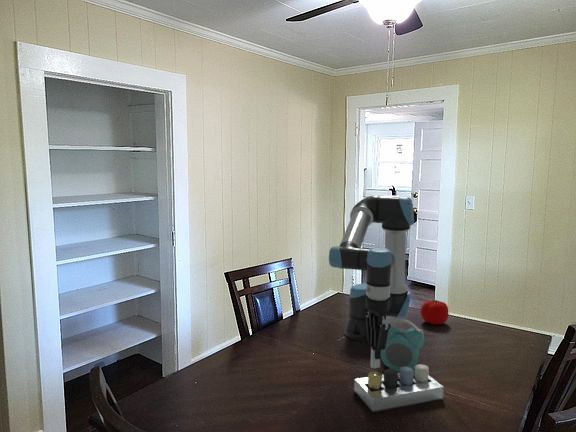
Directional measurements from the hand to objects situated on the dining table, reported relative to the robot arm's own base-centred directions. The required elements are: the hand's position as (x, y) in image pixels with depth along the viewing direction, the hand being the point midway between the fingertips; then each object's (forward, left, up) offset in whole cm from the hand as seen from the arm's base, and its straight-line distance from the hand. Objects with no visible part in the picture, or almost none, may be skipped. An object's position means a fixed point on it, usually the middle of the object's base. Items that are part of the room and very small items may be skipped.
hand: (375, 366), depth 139 cm
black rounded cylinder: (0, +6, -9) cm, 11 cm away
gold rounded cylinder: (0, 0, -9) cm, 9 cm away
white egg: (0, +18, -9) cm, 20 cm away
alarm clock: (-17, +20, -12) cm, 29 cm away
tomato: (-53, +62, -12) cm, 82 cm away
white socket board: (0, +9, -12) cm, 15 cm away
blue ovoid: (0, +12, -9) cm, 15 cm away
